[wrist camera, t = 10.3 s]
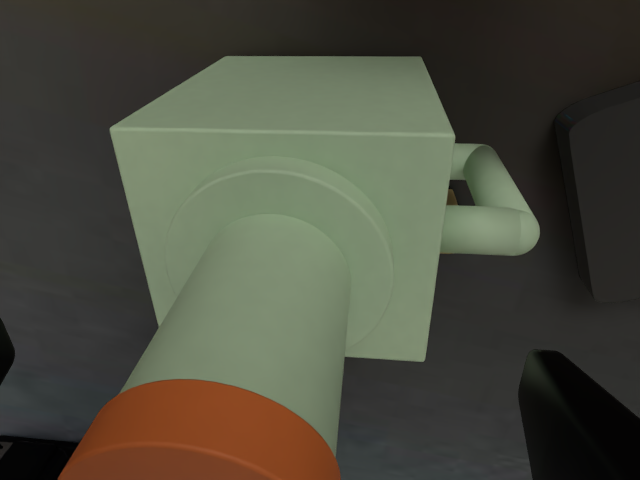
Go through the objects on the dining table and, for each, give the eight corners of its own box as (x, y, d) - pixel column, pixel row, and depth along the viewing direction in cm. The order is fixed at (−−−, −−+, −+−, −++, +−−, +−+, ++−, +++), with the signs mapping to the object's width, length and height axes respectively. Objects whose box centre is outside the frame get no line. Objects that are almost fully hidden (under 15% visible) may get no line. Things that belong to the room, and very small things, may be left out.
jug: (473, 213, 19) (652, 699, 6) (241, 205, 20) (9, 613, 7) (500, 56, 16) (939, 404, 3) (224, 55, 17) (-217, 324, 4)
